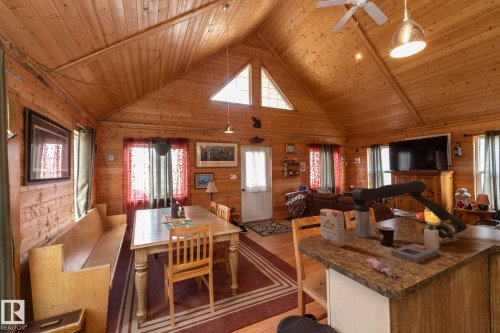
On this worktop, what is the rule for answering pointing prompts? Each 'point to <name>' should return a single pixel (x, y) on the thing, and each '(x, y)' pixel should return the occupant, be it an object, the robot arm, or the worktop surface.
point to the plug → (431, 237)
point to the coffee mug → (386, 236)
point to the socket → (415, 253)
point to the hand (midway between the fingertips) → (432, 234)
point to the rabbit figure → (382, 267)
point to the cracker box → (332, 227)
